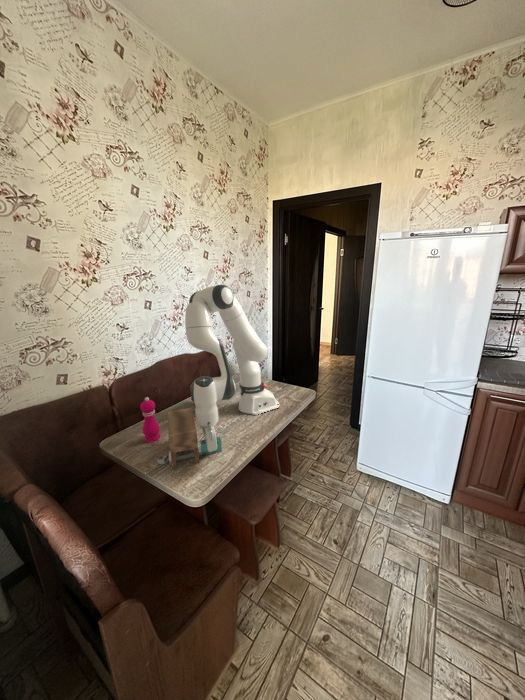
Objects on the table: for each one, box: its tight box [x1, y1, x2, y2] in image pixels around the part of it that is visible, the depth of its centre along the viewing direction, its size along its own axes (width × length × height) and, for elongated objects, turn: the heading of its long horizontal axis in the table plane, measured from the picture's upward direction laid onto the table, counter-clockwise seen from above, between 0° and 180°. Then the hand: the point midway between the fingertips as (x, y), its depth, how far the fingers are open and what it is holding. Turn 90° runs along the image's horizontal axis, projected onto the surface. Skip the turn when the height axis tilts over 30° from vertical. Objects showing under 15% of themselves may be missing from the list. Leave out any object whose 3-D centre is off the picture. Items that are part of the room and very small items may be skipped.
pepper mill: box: [140, 396, 161, 443], centre depth 122 cm, size 7×7×20 cm
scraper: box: [168, 436, 223, 466], centre depth 112 cm, size 20×6×5 cm, turn 109°
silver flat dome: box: [156, 455, 169, 466], centre depth 109 cm, size 4×4×1 cm
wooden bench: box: [167, 407, 201, 470], centre depth 113 cm, size 10×20×14 cm, turn 19°
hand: (209, 447), depth 114 cm, fingers open, 3 cm apart
